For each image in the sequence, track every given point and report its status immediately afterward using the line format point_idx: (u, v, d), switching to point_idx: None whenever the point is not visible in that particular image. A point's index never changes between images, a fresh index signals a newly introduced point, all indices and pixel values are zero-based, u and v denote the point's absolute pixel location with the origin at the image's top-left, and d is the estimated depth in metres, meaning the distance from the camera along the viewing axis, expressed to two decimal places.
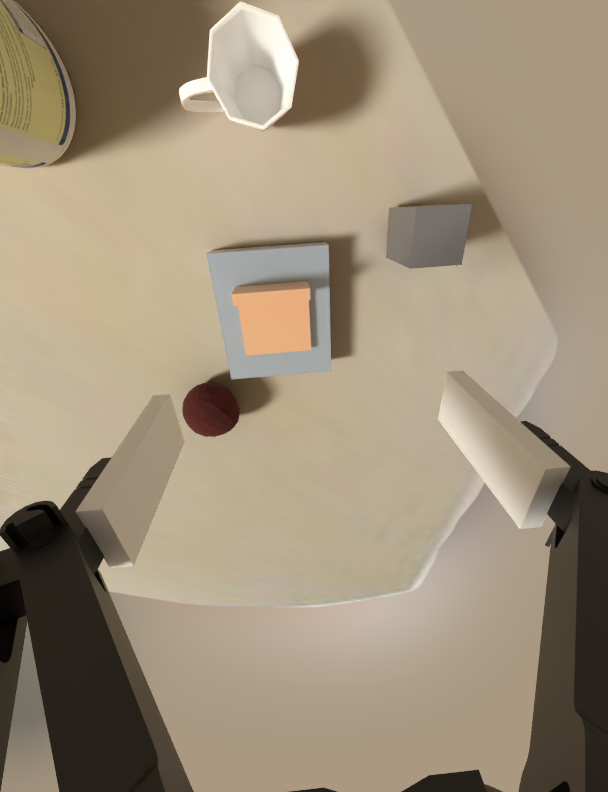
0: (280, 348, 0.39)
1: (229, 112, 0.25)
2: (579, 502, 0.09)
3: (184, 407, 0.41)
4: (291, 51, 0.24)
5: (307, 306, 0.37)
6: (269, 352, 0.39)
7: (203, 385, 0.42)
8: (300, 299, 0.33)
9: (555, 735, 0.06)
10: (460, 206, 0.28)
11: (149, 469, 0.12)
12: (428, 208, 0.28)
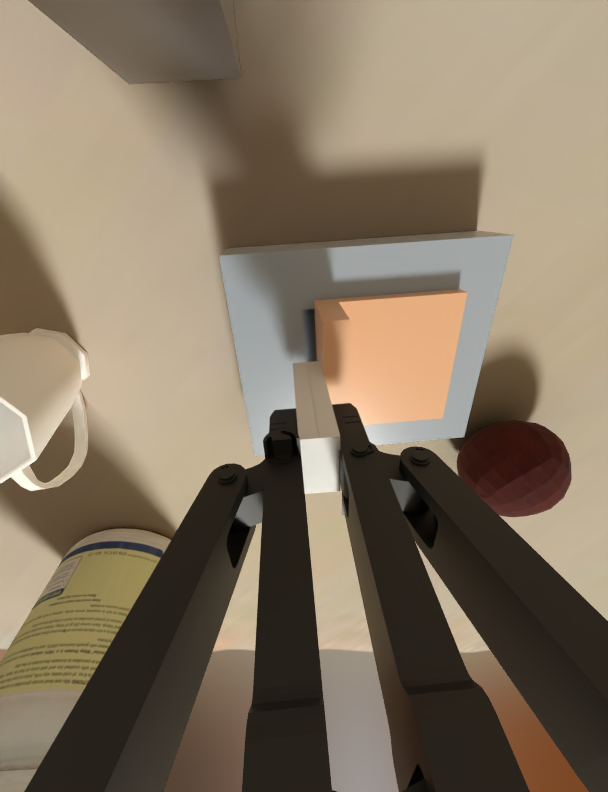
0: (445, 357, 0.19)
1: (28, 458, 0.16)
2: (348, 475, 0.10)
3: None
4: None
5: (366, 303, 0.17)
6: (448, 379, 0.19)
7: (461, 472, 0.25)
8: (346, 341, 0.15)
9: (399, 712, 0.06)
10: None
11: None
12: None
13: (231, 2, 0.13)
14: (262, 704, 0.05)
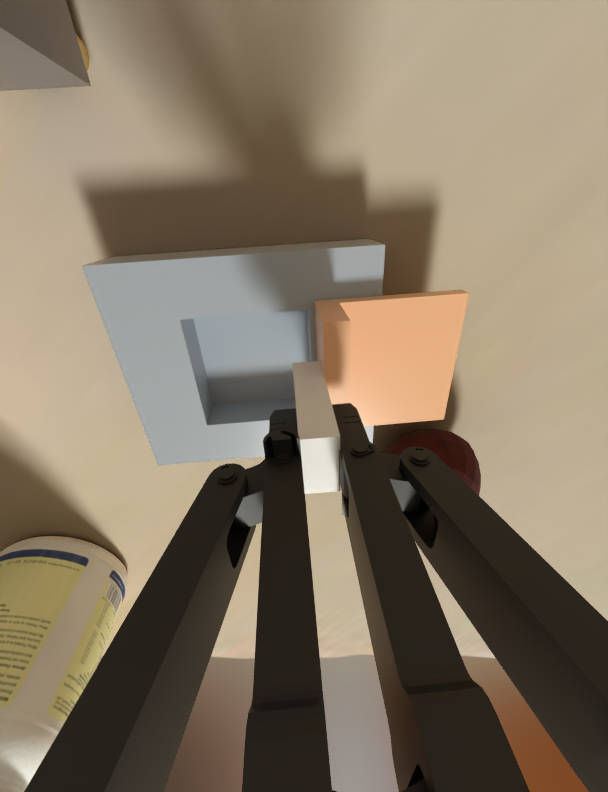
0: (446, 358, 0.19)
1: None
2: (348, 475, 0.10)
3: None
4: None
5: (366, 304, 0.17)
6: (449, 380, 0.19)
7: None
8: (347, 342, 0.15)
9: (399, 712, 0.06)
10: None
11: None
12: None
13: (56, 9, 0.12)
14: (262, 704, 0.05)
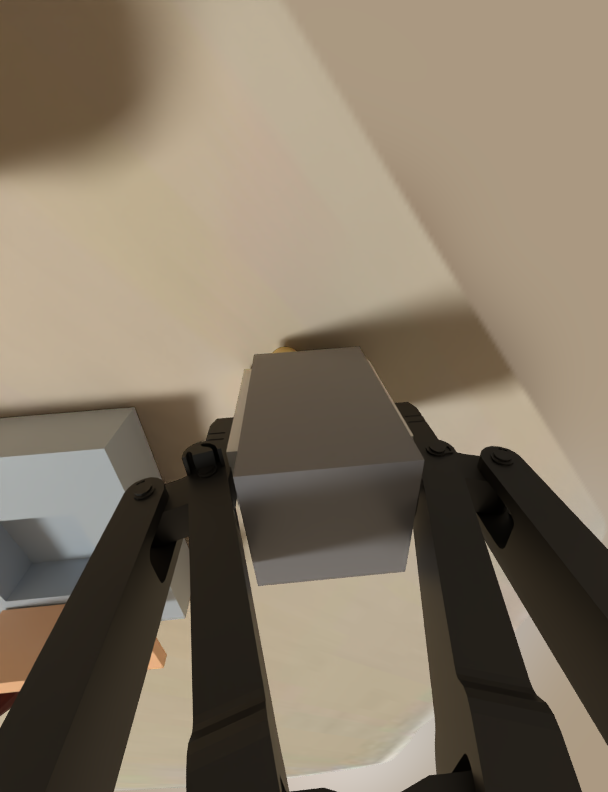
0: None
1: None
2: None
3: None
4: None
5: None
6: None
7: None
8: None
9: (449, 704, 0.06)
10: (385, 467, 0.08)
11: None
12: (276, 476, 0.08)
13: None
14: (202, 729, 0.05)
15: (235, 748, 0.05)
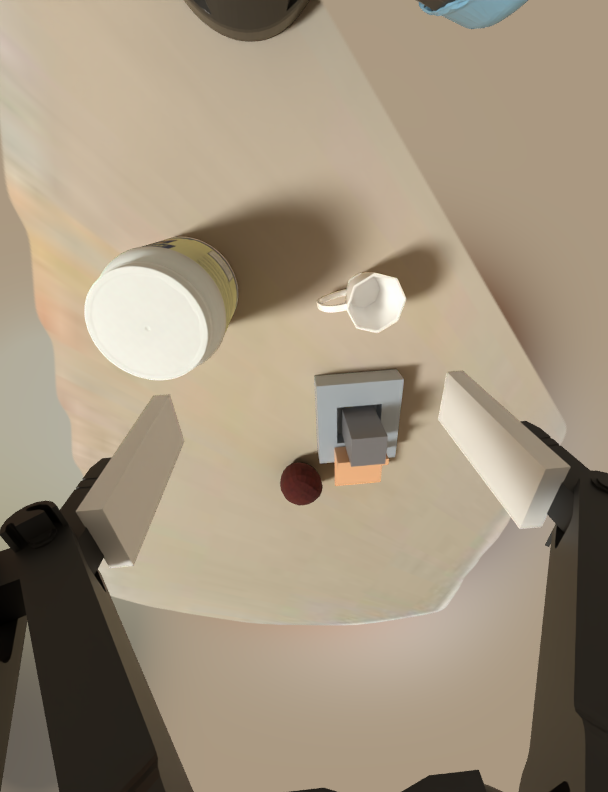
0: (359, 481, 0.56)
1: (357, 324, 0.39)
2: (579, 502, 0.09)
3: (284, 485, 0.55)
4: (402, 294, 0.37)
5: None
6: (351, 483, 0.57)
7: (297, 467, 0.56)
8: (382, 464, 0.51)
9: (555, 735, 0.06)
10: (380, 437, 0.44)
11: (149, 469, 0.12)
12: (359, 439, 0.44)
13: None
14: None
15: None
